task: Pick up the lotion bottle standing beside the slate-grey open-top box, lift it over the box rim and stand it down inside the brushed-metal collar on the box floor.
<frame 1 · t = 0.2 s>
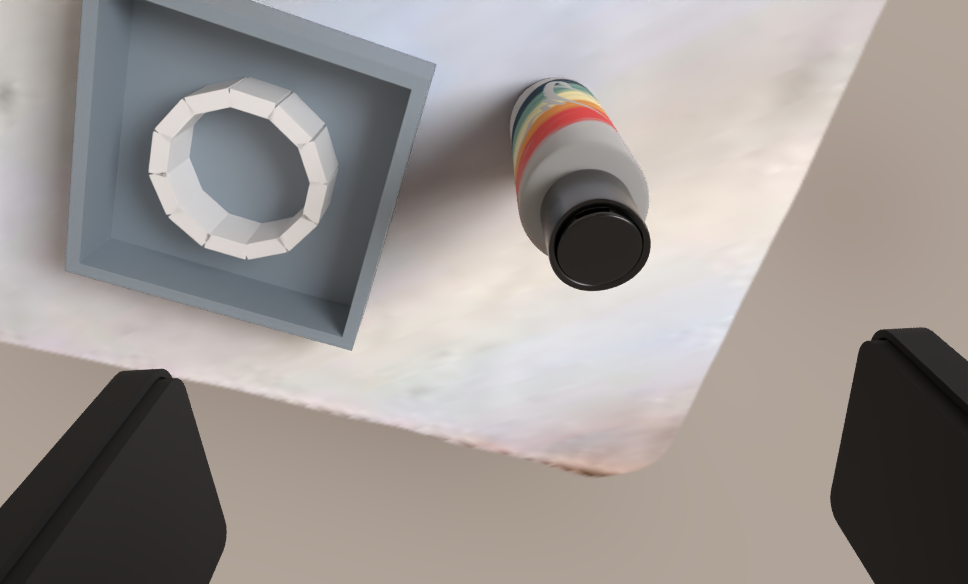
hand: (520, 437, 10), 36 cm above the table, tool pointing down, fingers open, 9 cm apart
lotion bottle: (554, 121, 44), on the table
socket box: (260, 156, 45), on the table
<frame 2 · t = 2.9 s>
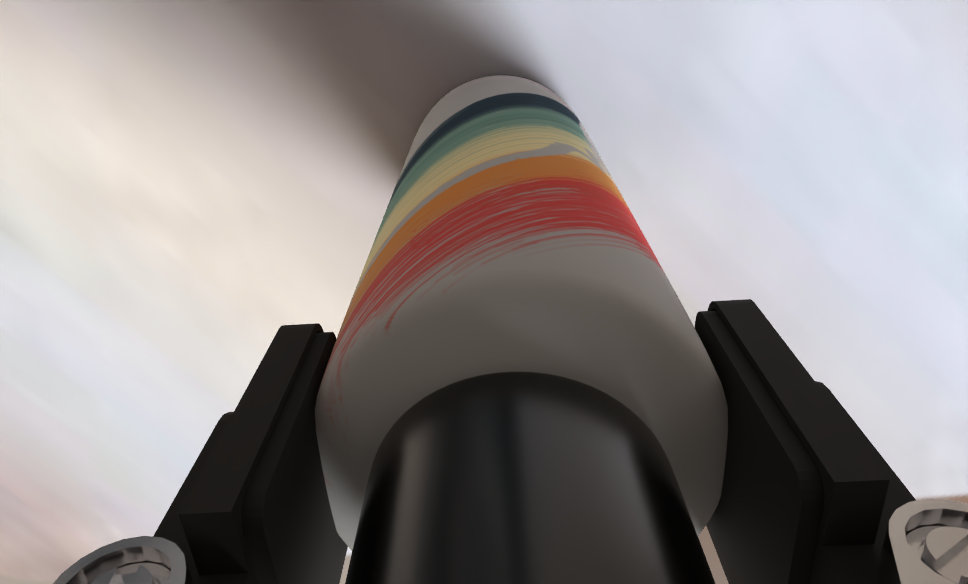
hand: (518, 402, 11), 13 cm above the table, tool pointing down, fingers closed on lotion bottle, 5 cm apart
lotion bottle: (500, 160, 23), on the table, touching gripper
when the fingers open (15 cm above the table, at t = 10.2 s): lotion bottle stays where it is, resting on socket box.
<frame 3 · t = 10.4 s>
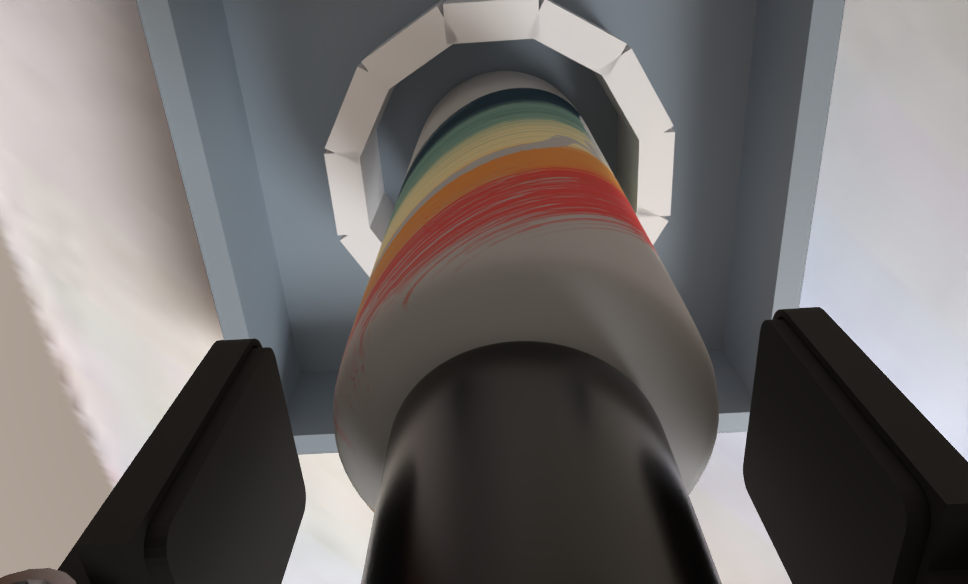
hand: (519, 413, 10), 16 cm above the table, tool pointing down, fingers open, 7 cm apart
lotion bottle: (503, 153, 24), point 1 cm above the table, touching socket box
socket box: (497, 146, 24), on the table
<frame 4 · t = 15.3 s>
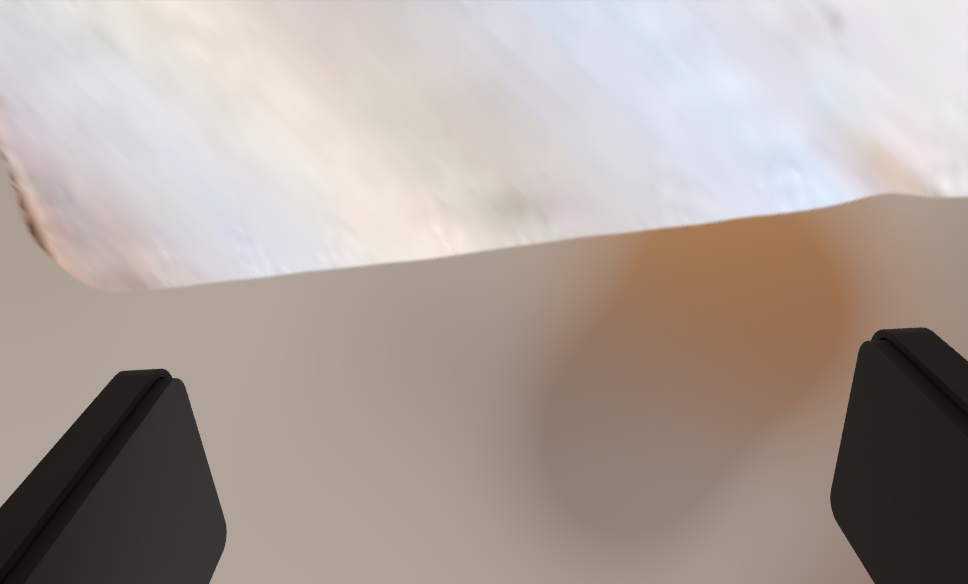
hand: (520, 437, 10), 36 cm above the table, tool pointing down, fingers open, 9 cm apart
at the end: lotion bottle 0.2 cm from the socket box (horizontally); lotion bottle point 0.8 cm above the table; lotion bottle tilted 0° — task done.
